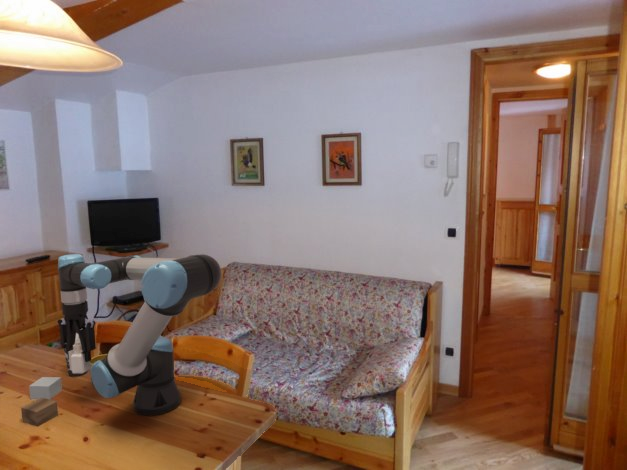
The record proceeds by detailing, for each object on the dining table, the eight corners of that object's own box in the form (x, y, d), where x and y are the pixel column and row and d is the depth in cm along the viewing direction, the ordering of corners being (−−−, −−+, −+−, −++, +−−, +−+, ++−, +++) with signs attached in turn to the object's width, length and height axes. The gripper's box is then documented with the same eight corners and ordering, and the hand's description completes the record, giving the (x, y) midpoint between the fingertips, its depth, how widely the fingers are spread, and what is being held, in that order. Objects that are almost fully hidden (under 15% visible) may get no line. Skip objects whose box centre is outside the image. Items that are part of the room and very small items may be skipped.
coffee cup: (83, 378, 173) (80, 341, 171) (58, 378, 173) (55, 341, 171) (96, 368, 182) (93, 332, 180) (72, 368, 182) (69, 332, 180)
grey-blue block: (62, 390, 164) (61, 377, 163) (49, 400, 157) (48, 386, 156) (43, 390, 164) (42, 376, 164) (30, 399, 158) (29, 385, 157)
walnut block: (58, 416, 147) (56, 401, 146) (37, 427, 140) (36, 412, 140) (43, 411, 149) (41, 397, 149) (22, 422, 143) (21, 407, 142)
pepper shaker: (77, 369, 154) (75, 342, 152) (89, 369, 154) (87, 342, 152) (71, 374, 150) (69, 346, 148) (83, 374, 150) (81, 346, 148)
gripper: (104, 300, 149) (110, 368, 152) (63, 297, 155) (68, 362, 158) (87, 306, 142) (93, 377, 145) (43, 302, 148) (50, 371, 151)
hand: (80, 369), depth 151 cm, fingers closed on pepper shaker, 5 cm apart
